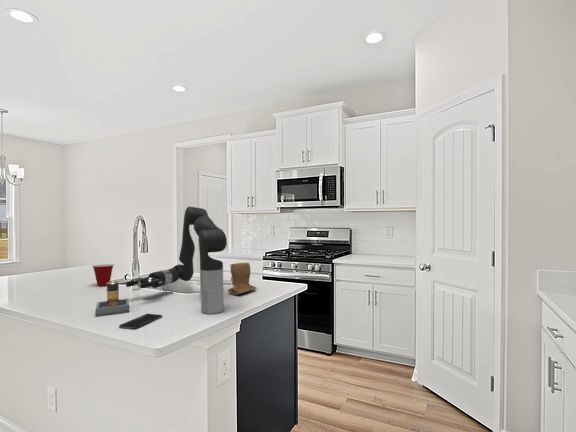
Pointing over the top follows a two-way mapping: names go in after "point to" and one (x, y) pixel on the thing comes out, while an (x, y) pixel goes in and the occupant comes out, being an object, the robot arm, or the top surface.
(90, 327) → the top surface
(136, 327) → the phone
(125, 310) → the tray
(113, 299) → the battery cell
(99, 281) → the plastic cup
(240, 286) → the brown boot
